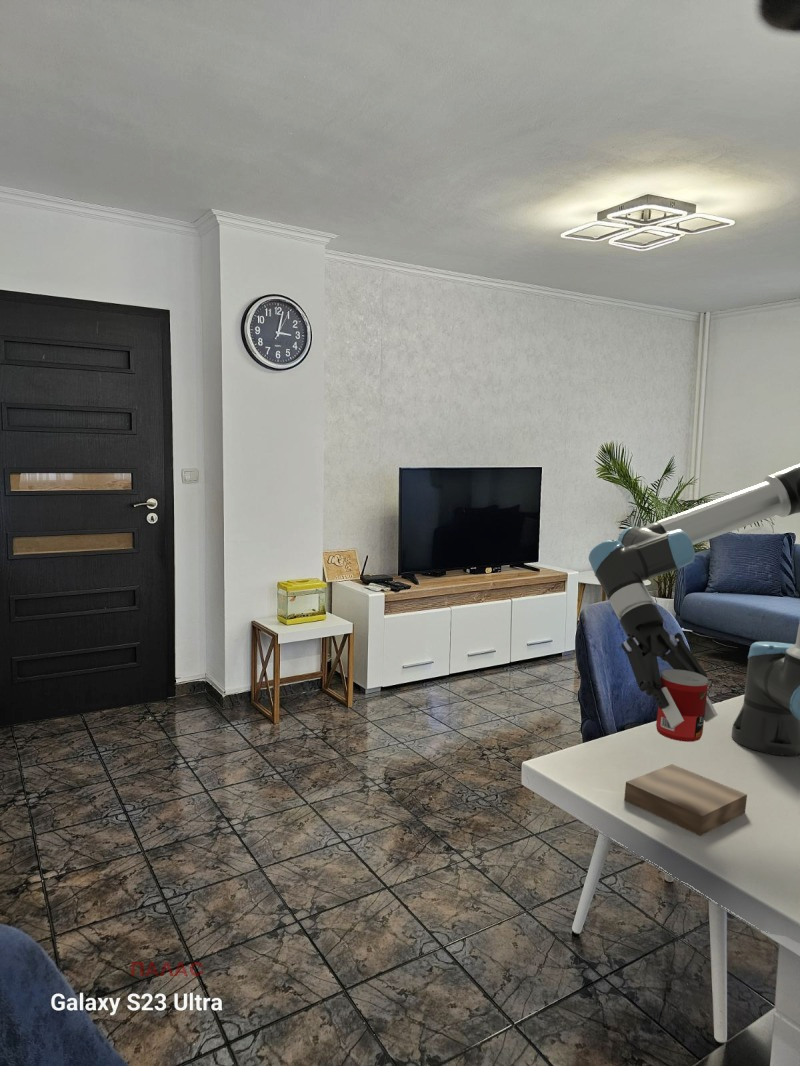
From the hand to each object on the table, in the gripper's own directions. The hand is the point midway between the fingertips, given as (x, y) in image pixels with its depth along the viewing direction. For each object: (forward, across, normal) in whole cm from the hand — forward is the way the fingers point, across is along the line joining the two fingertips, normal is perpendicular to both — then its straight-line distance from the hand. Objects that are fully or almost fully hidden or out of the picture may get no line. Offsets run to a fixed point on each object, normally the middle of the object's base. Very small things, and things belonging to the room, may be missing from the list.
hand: (694, 721), depth 133 cm
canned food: (0, 0, -5) cm, 5 cm away
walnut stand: (+11, 0, -12) cm, 16 cm away
